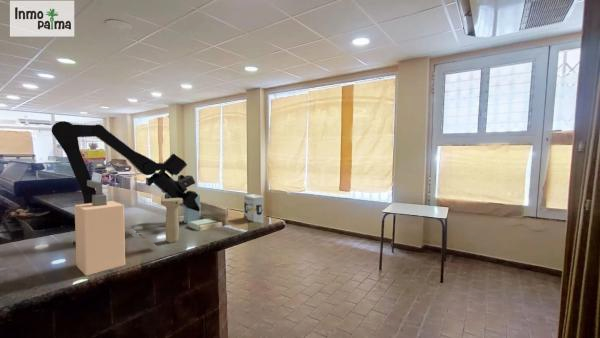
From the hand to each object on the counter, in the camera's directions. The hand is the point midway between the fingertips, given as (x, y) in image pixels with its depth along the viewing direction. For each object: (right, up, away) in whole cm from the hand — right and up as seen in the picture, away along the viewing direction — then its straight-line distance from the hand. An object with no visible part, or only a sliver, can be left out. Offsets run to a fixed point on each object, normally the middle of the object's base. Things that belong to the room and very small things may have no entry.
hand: (194, 209), depth 114 cm
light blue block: (-1, -7, -1) cm, 7 cm away
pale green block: (+6, -6, -7) cm, 11 cm away
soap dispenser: (-11, -9, -40) cm, 42 cm away
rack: (+3, -7, -1) cm, 8 cm away
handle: (+2, -8, -25) cm, 26 cm away
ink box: (+23, -7, +6) cm, 25 cm away
